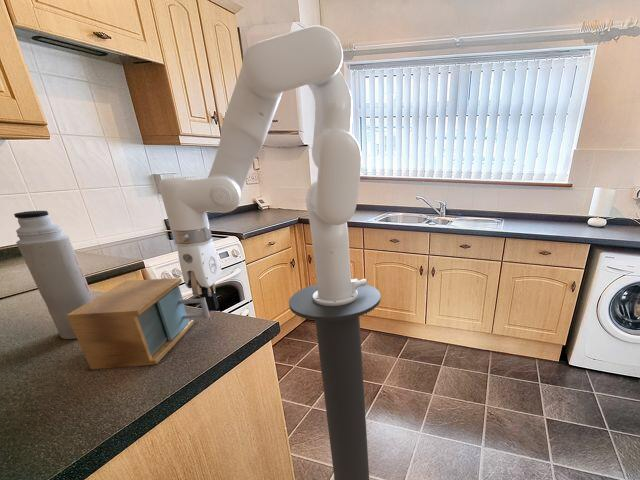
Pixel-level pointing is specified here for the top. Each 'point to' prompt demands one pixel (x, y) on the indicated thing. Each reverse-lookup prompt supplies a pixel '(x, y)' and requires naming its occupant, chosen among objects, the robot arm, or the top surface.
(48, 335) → the top surface
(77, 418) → the top surface
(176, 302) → the blue door
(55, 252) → the thermos bottle
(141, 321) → the cabinet
